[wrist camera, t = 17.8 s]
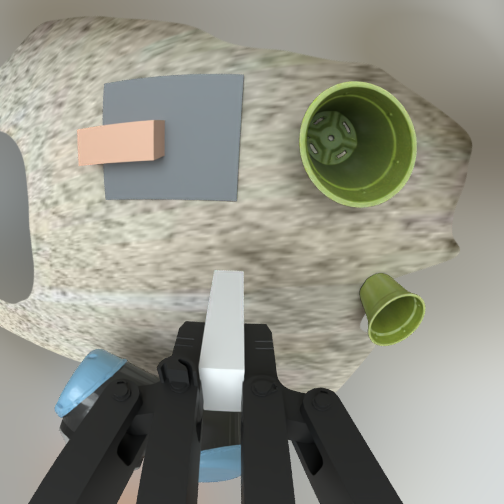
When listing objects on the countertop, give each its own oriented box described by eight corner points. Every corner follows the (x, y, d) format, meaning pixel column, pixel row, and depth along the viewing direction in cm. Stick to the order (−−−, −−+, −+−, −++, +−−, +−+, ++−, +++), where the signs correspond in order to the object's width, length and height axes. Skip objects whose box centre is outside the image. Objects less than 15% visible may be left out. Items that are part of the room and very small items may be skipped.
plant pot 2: (403, 297, 43) (426, 328, 36) (356, 320, 45) (373, 355, 37) (396, 254, 40) (424, 283, 32) (343, 278, 41) (363, 313, 33)
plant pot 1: (308, 76, 29) (336, 56, 19) (384, 124, 31) (433, 129, 21) (265, 156, 33) (275, 170, 23) (344, 198, 36) (380, 228, 26)
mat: (236, 199, 35) (236, 201, 35) (107, 198, 35) (105, 199, 34) (243, 75, 29) (243, 74, 28) (106, 84, 28) (104, 83, 27)
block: (153, 160, 28) (78, 166, 28) (164, 155, 32) (95, 160, 32) (153, 120, 26) (77, 129, 26) (164, 120, 30) (94, 127, 30)
